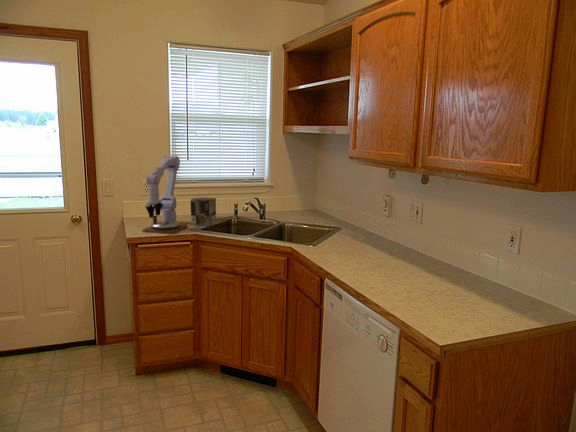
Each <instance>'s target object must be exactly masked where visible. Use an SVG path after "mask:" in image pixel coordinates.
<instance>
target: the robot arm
mask: <svg viewBox="0 0 576 432" xmlns="http://www.w3.org/2000/svg"><path fill="white" fill-rule="evenodd" d="M180 163H181V160H180V158H179V156H177V155H176V156H174V155H164V156H162V158H161V163H160V165H159V167H155V169H154V170H153V171H152V172H151V174H148V175H147V176H146V181H145V182H146V183H147V187H148V201H147V203H146V205H145V209H146V210H147V213H148V216H149V218H152V219H153V217H154V216H157V217H158V216H160V214H161V213H162V216H161V217H162V221H176V222H179V221H177V211H176V208H177V204H178V203H177V199H176V196H174V193H175V185H176V180H177V179H176V178H177V173H178V171H179V169H180ZM165 170H166V171H168V175H167V178H166V179H167V180H166V185H165V193H164V195H162V196H161V197H160V193H159V192H160V191H159V188H160V187H159V185H160V183H161V179H162V177H163V176H164V174H165ZM161 211H162V212H161ZM154 214H155V215H154Z"/></svg>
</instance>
